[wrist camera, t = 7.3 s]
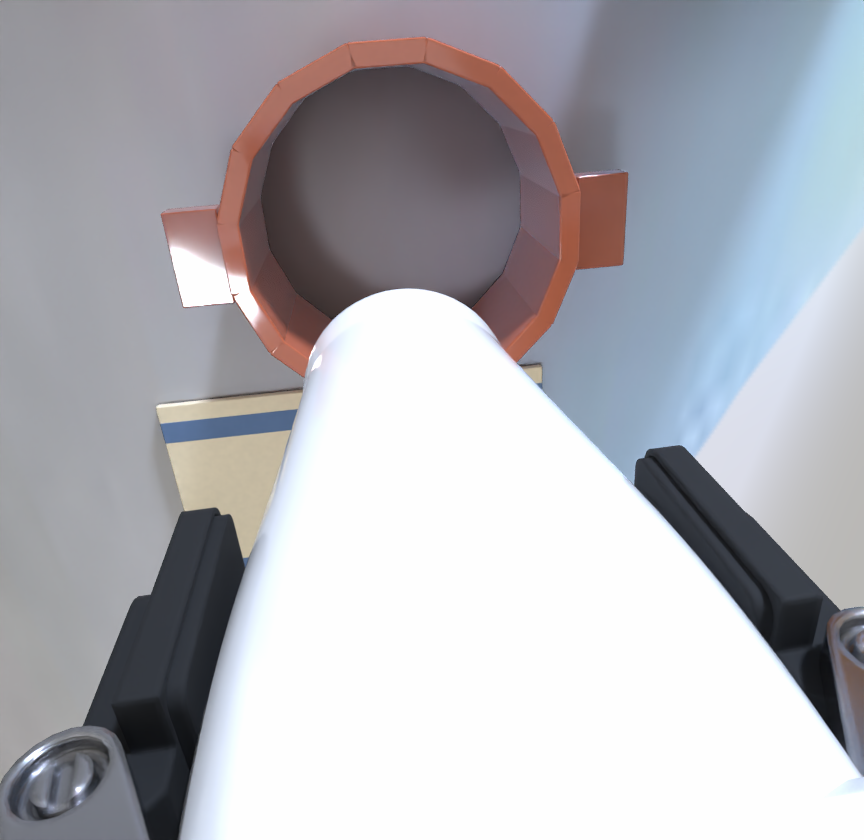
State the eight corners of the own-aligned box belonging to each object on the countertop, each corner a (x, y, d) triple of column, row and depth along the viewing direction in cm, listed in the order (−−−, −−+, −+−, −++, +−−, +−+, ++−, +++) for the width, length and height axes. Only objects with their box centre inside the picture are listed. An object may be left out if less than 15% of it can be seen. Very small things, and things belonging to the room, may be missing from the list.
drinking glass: (229, 319, 17) (-125, 1102, 4) (476, 208, 17) (993, 679, 4) (345, 518, 20) (362, 1343, 7) (557, 429, 20) (1000, 1128, 7)
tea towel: (207, 587, 41) (206, 592, 40) (157, 404, 35) (155, 407, 35) (540, 546, 42) (541, 550, 42) (540, 364, 37) (542, 366, 36)
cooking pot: (233, 365, 35) (208, 427, 29) (168, 63, 29) (118, 59, 22) (574, 330, 36) (621, 383, 30) (581, 32, 30) (643, 20, 24)
